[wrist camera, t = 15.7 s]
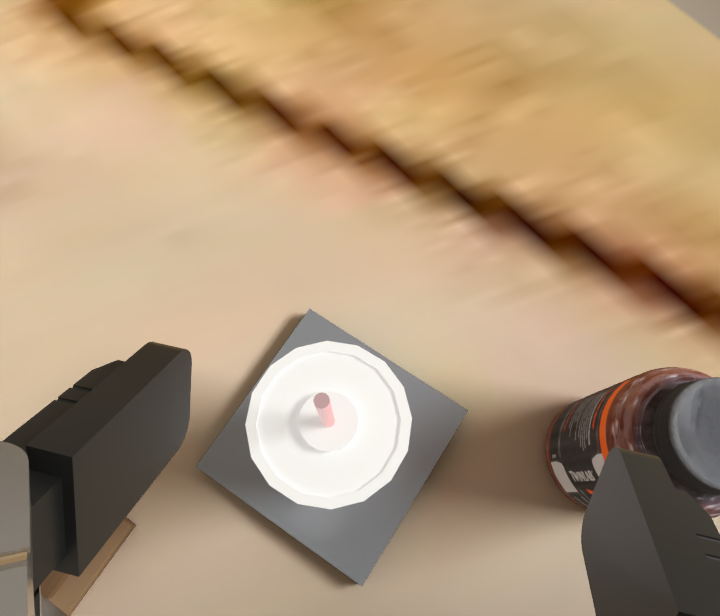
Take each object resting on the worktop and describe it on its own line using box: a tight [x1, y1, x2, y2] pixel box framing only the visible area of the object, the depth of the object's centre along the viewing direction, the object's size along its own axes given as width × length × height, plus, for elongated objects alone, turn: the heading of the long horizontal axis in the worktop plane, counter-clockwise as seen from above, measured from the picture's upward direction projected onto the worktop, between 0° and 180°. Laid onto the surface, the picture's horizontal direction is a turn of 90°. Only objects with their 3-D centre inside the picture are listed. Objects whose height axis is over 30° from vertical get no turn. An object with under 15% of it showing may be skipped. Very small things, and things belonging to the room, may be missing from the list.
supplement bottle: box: [546, 367, 720, 518], centre depth 26 cm, size 6×6×11 cm
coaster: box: [196, 309, 468, 586], centre depth 31 cm, size 10×10×1 cm
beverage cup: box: [245, 341, 412, 509], centre depth 24 cm, size 6×6×14 cm
